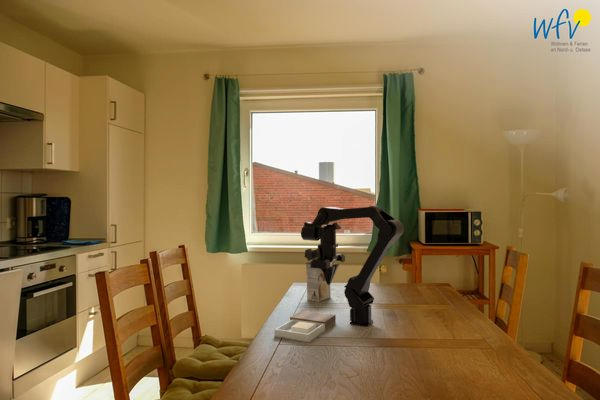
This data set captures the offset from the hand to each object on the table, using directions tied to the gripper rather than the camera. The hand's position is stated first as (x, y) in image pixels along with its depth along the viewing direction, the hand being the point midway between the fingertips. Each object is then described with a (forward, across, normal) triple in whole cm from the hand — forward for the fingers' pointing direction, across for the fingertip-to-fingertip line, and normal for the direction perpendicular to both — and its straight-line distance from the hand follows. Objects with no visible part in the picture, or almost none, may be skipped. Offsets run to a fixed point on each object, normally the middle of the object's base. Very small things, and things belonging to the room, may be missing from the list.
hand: (328, 284), depth 153 cm
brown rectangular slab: (+12, +10, -2) cm, 16 cm away
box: (+12, +21, -1) cm, 24 cm away
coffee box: (+12, -23, -15) cm, 30 cm away
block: (+12, +19, -1) cm, 22 cm away
